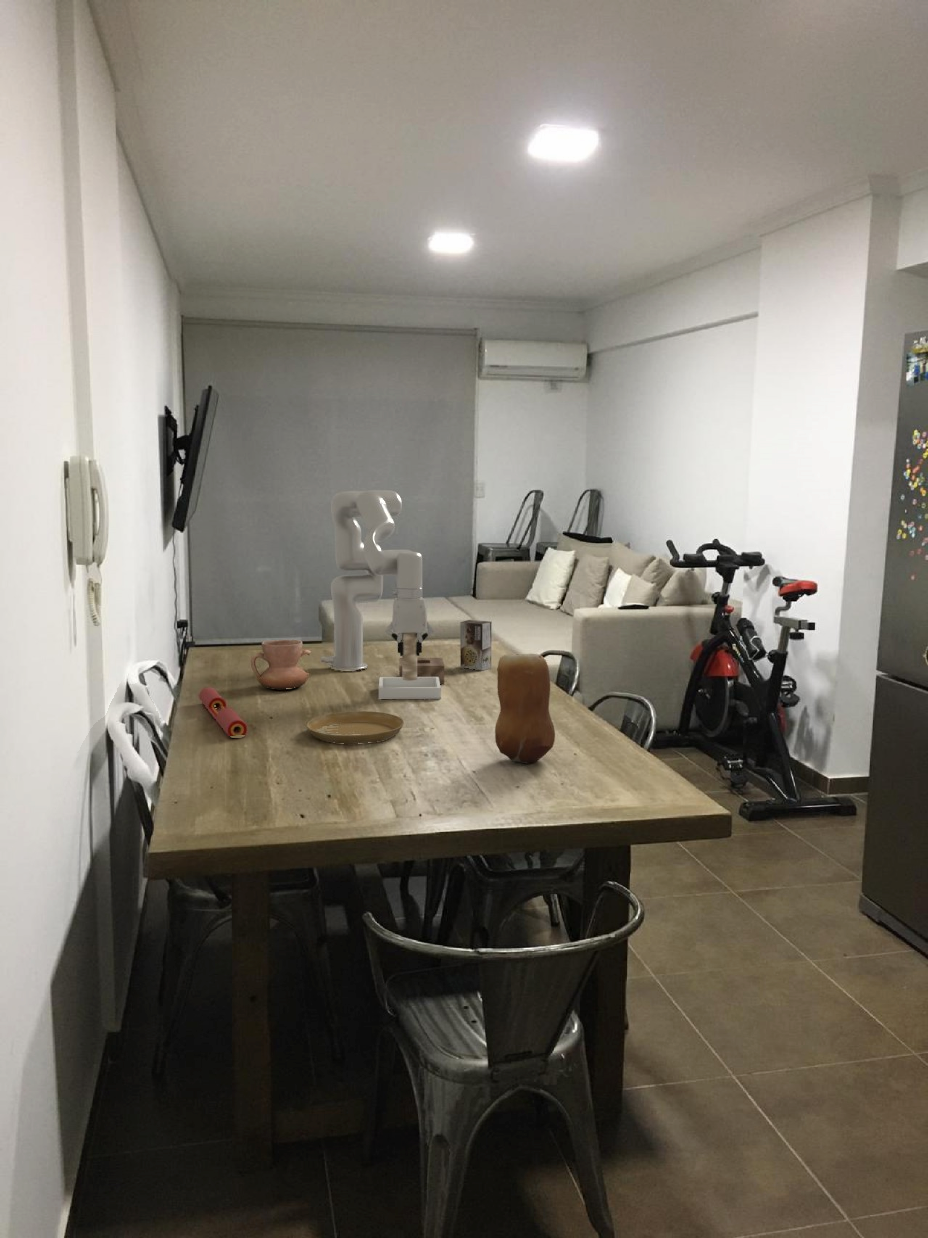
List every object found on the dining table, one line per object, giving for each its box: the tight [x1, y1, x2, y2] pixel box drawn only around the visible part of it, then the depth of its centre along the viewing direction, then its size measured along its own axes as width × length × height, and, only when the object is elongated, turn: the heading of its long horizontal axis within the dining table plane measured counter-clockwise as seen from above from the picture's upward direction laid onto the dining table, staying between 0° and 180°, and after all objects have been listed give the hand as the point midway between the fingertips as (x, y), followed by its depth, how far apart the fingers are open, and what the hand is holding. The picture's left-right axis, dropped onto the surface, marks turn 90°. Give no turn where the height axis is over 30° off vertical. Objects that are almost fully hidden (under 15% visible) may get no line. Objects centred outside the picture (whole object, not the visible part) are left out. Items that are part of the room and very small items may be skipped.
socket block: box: [398, 657, 445, 685], centre depth 308 cm, size 14×14×6 cm
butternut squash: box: [494, 652, 556, 765], centre depth 217 cm, size 14×13×25 cm
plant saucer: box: [306, 710, 405, 745], centre depth 242 cm, size 24×24×3 cm
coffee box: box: [459, 619, 493, 671], centre depth 328 cm, size 9×6×16 cm
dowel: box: [401, 633, 418, 681], centre depth 287 cm, size 4×4×15 cm
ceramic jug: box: [250, 639, 312, 690], centre depth 295 cm, size 18×14×14 cm
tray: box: [378, 676, 442, 701], centre depth 288 cm, size 18×16×4 cm
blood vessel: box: [198, 686, 248, 737], centre depth 255 cm, size 42×5×5 cm, turn 24°
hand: (409, 654), depth 287 cm, fingers closed on dowel, 4 cm apart
